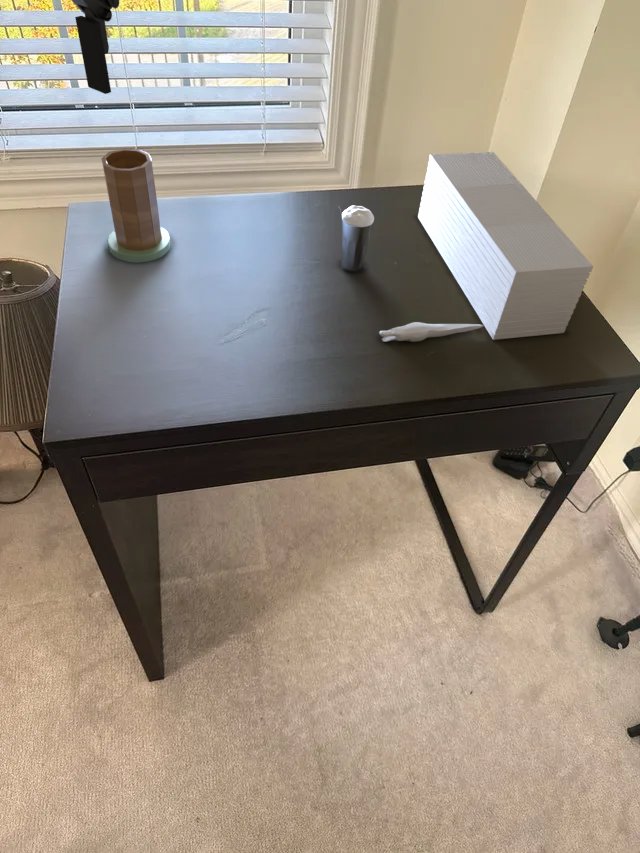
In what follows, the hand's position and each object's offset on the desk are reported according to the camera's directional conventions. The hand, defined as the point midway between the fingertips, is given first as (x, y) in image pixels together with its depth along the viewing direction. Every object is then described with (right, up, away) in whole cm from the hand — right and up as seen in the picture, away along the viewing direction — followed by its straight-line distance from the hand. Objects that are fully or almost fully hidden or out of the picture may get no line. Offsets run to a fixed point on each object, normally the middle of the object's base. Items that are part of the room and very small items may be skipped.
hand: (46, 108), depth 64 cm
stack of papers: (+52, -8, +34) cm, 63 cm away
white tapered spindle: (+42, -20, +22) cm, 52 cm away
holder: (0, -5, +32) cm, 32 cm away
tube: (0, -4, +31) cm, 31 cm away
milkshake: (+32, -8, +32) cm, 46 cm away
